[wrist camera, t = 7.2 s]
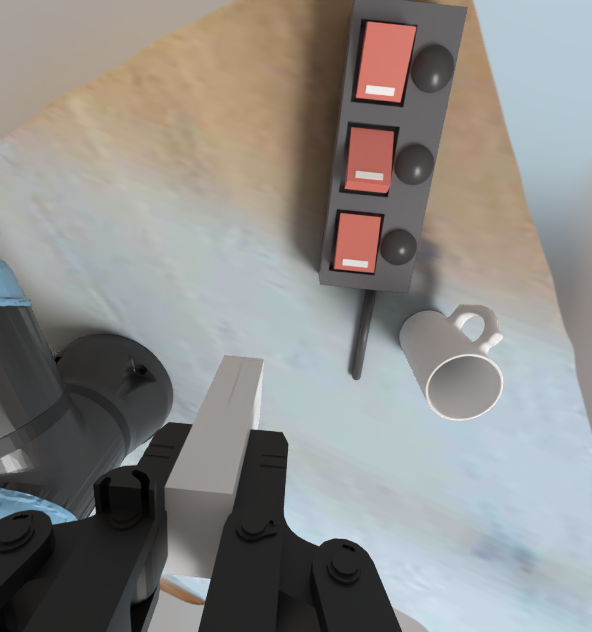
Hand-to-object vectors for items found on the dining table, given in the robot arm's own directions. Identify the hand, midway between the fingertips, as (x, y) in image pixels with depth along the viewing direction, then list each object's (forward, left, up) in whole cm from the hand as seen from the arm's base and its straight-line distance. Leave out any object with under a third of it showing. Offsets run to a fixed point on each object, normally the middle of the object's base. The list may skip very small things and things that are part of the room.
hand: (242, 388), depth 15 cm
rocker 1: (+7, +17, -25) cm, 31 cm away
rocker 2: (+7, +10, -25) cm, 27 cm away
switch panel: (+9, +3, -29) cm, 31 cm away
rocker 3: (+7, +2, -25) cm, 26 cm away
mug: (+18, -7, -30) cm, 35 cm away
